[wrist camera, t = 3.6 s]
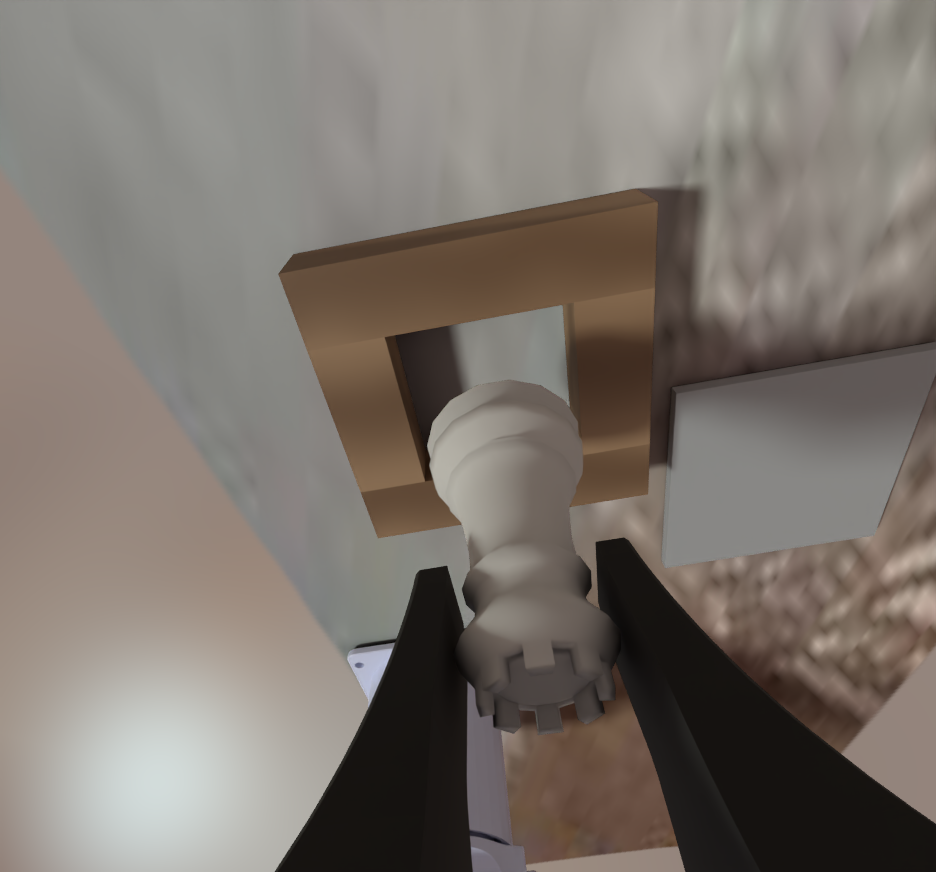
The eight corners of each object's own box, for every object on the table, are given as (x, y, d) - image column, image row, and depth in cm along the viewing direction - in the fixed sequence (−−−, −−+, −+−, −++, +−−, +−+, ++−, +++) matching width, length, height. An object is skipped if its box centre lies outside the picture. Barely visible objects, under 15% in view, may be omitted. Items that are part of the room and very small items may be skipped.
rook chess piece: (510, 339, 14) (571, 591, 8) (605, 435, 16) (717, 697, 10) (396, 436, 16) (367, 707, 9) (495, 511, 18) (528, 776, 11)
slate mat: (867, 527, 26) (874, 535, 25) (661, 560, 26) (665, 568, 26) (935, 341, 20) (945, 347, 20) (671, 387, 21) (676, 393, 20)
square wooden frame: (632, 463, 23) (647, 494, 21) (381, 505, 23) (378, 538, 22) (635, 188, 16) (657, 201, 15) (293, 254, 17) (278, 273, 15)
